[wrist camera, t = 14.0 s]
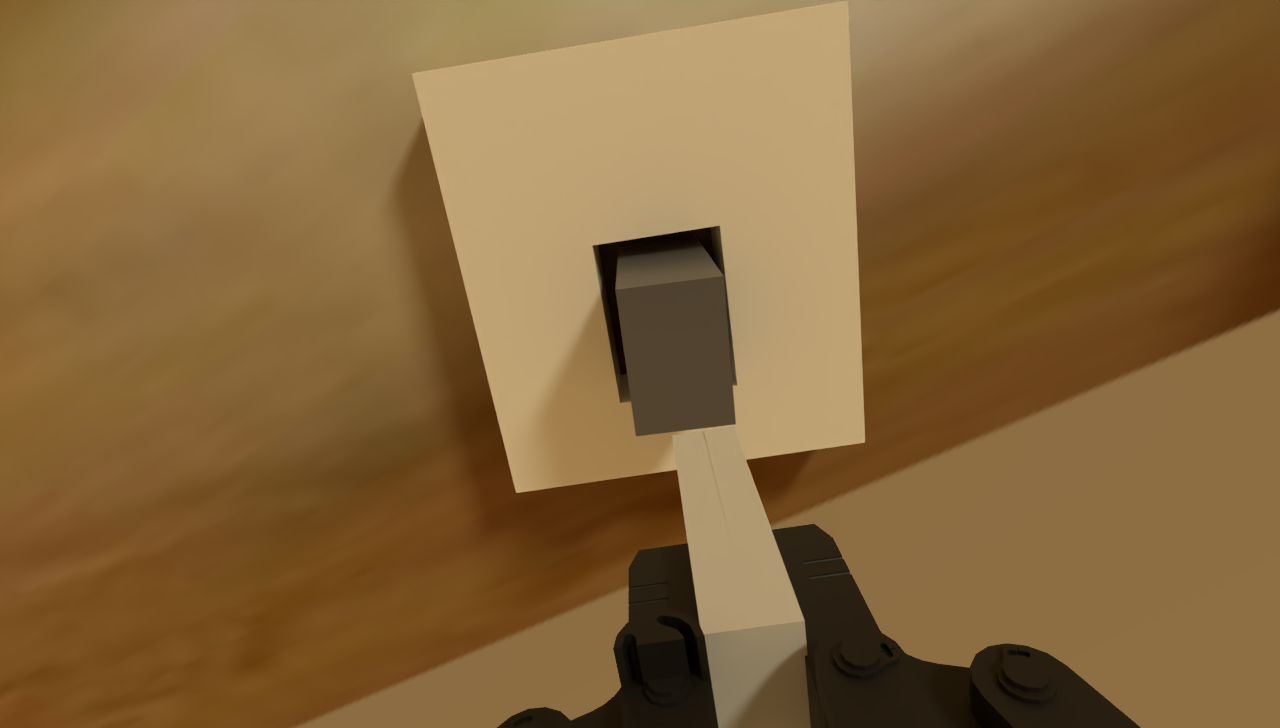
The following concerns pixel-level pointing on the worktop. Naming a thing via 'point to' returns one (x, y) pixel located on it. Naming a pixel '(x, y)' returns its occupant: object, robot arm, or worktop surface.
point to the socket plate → (657, 228)
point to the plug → (674, 336)
